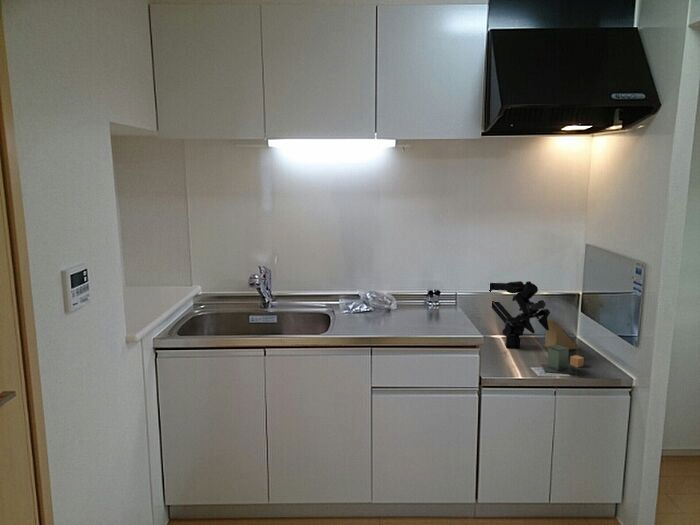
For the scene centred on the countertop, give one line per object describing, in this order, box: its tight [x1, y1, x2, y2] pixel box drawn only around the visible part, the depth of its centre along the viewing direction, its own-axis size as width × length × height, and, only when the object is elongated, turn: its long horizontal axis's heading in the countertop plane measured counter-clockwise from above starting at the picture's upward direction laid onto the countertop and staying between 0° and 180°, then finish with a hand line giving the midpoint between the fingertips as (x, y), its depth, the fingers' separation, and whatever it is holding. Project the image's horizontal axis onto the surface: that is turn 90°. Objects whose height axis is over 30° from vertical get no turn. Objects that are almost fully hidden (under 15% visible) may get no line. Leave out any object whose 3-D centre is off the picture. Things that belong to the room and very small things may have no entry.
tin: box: [546, 344, 570, 372], centre depth 221 cm, size 6×6×10 cm
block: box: [569, 354, 585, 368], centre depth 227 cm, size 4×4×4 cm
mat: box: [540, 363, 575, 375], centre depth 222 cm, size 12×9×1 cm
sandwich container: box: [544, 317, 581, 351], centre depth 250 cm, size 9×15×15 cm, turn 106°
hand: (541, 331), depth 233 cm, fingers open, 9 cm apart
